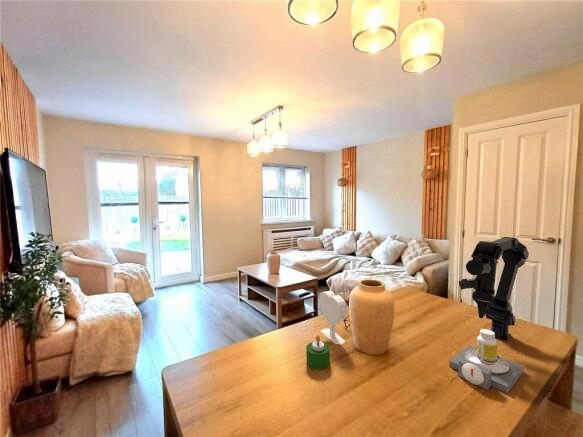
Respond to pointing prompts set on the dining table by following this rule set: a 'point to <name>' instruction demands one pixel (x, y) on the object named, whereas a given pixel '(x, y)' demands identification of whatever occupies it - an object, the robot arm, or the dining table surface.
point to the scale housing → (485, 372)
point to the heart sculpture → (333, 314)
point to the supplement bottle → (487, 347)
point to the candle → (318, 354)
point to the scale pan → (496, 368)
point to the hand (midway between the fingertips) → (481, 315)
